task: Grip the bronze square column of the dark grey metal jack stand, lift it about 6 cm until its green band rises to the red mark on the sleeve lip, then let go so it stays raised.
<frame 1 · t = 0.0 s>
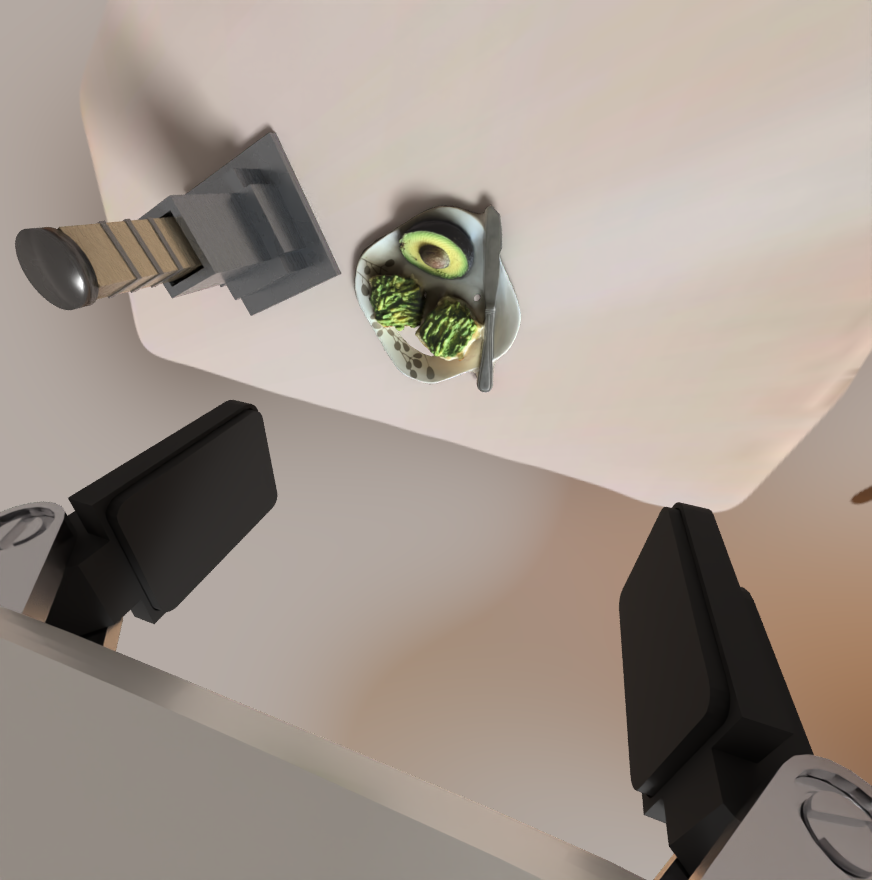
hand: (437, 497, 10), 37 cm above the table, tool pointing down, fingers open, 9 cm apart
salad plate: (440, 295, 45), on the table
jack stand: (264, 234, 47), on the table
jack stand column: (178, 249, 37), point 12 cm above the table, slide at 0.0 cm
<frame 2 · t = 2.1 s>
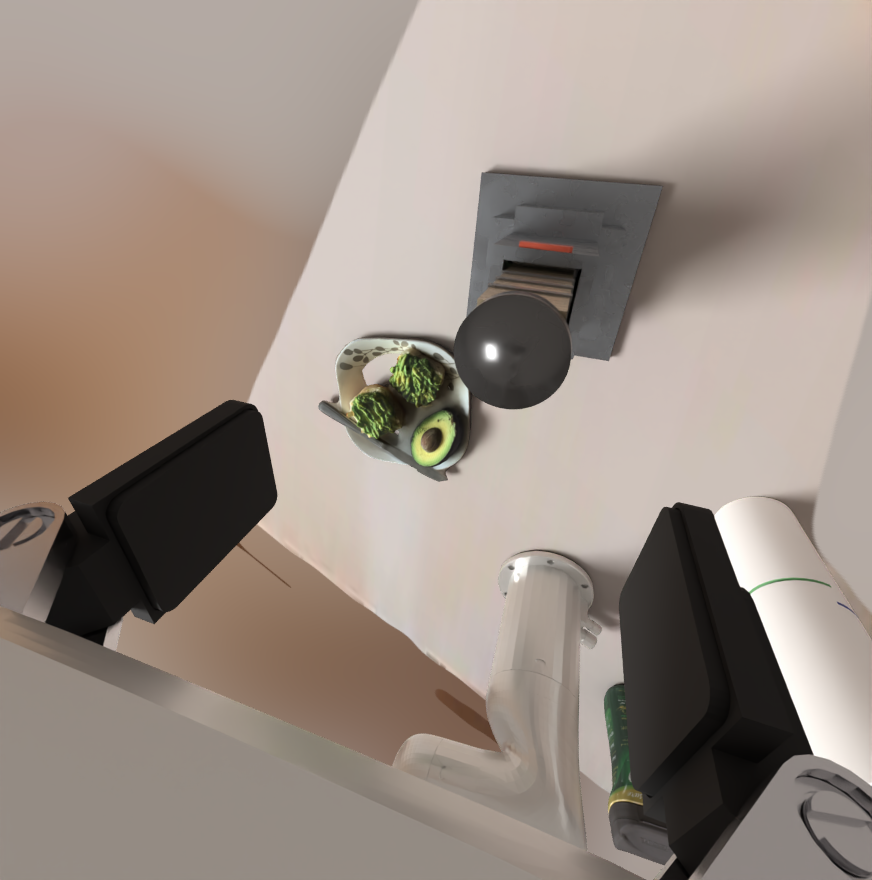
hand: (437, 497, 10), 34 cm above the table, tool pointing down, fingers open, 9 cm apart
coffee jar: (637, 698, 64), on the table
salad plate: (410, 404, 50), on the table
cylindrical container: (751, 522, 44), on the table
jack stand: (550, 270, 37), on the table
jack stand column: (535, 301, 27), point 12 cm above the table, slide at 0.0 cm
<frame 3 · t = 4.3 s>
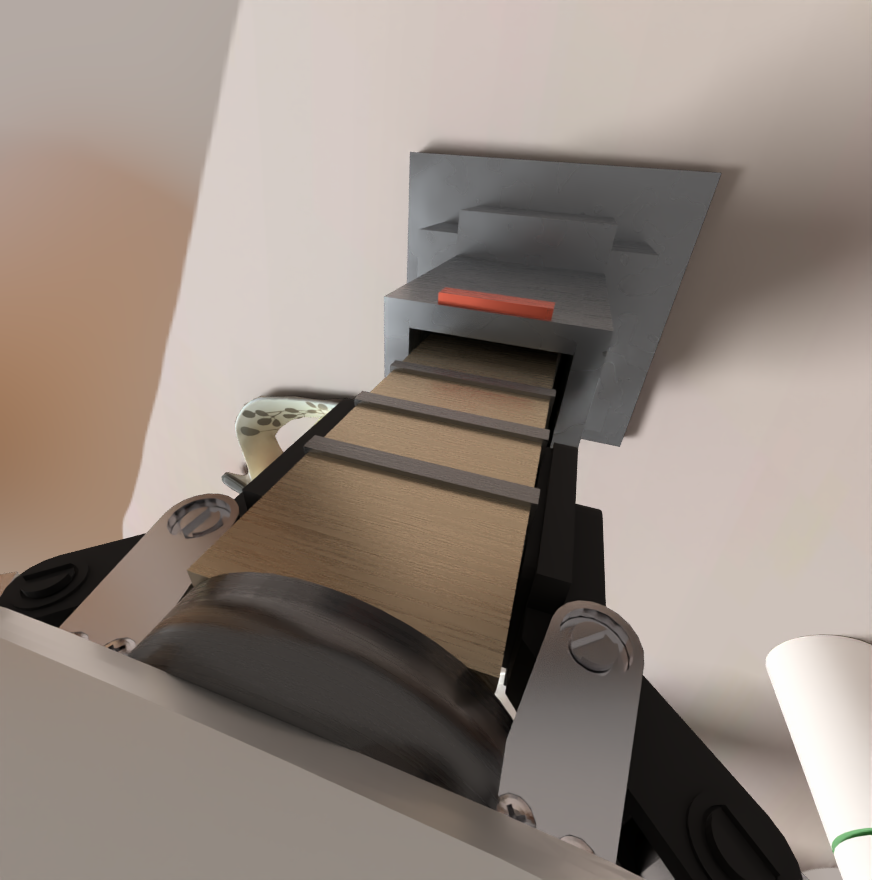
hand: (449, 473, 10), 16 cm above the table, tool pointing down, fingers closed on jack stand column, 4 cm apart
salad plate: (343, 480, 36), on the table
cylindrical container: (824, 664, 30), on the table
jack stand: (527, 309, 24), on the table
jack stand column: (483, 403, 14), point 12 cm above the table, slide at 0.0 cm, touching gripper
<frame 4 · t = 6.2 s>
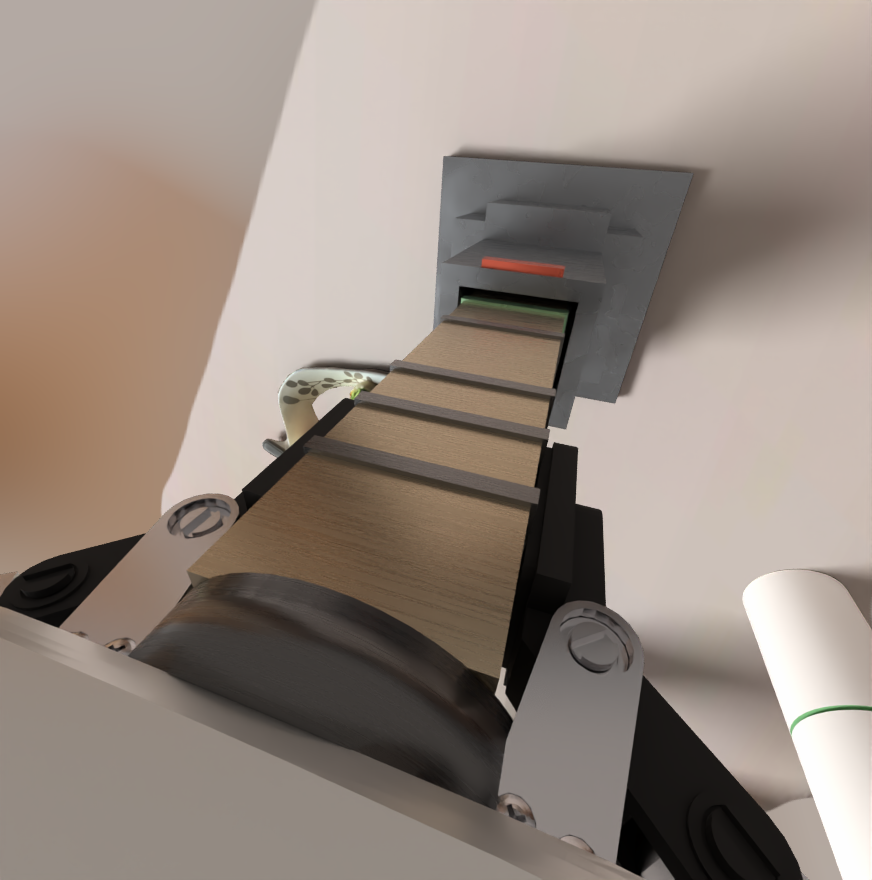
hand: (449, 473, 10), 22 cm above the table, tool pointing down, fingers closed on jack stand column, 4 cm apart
salad plate: (372, 444, 41), on the table
cylindrical container: (792, 597, 35), on the table
jack stand: (538, 287, 28), on the table
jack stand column: (483, 402, 14), point 18 cm above the table, slide at 5.8 cm, touching gripper
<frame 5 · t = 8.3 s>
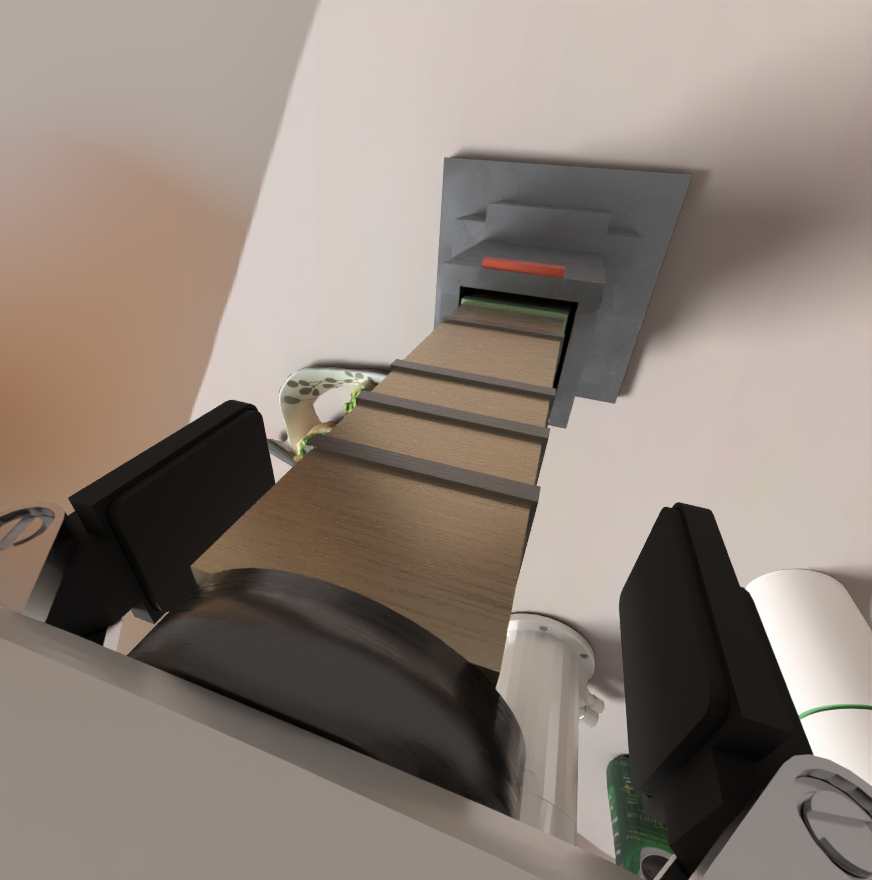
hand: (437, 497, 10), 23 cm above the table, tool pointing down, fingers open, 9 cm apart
coffee jar: (645, 770, 55), on the table
salad plate: (372, 444, 41), on the table
cylindrical container: (792, 597, 35), on the table
jack stand: (538, 287, 28), on the table
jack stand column: (483, 402, 14), point 18 cm above the table, slide at 5.9 cm
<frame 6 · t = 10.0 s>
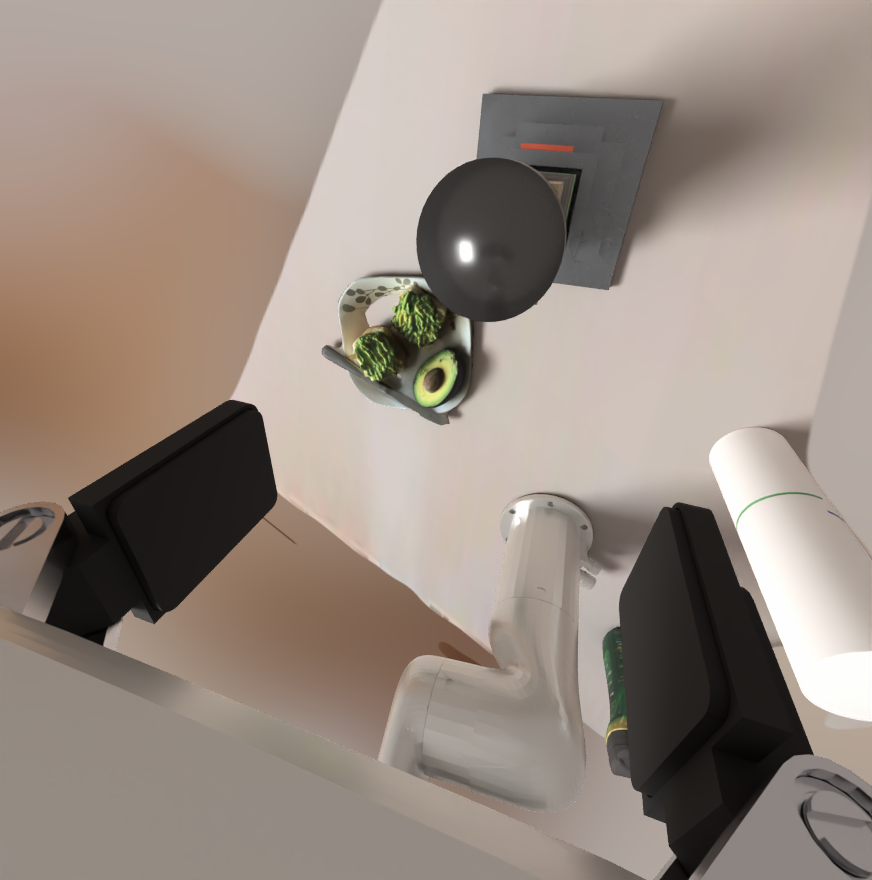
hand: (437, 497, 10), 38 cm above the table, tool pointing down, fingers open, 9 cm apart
coffee jar: (635, 642, 66), on the table
salad plate: (412, 347, 50), on the table
cylindrical container: (747, 454, 45), on the table
jack stand: (550, 197, 38), on the table
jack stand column: (525, 217, 23), point 18 cm above the table, slide at 5.9 cm
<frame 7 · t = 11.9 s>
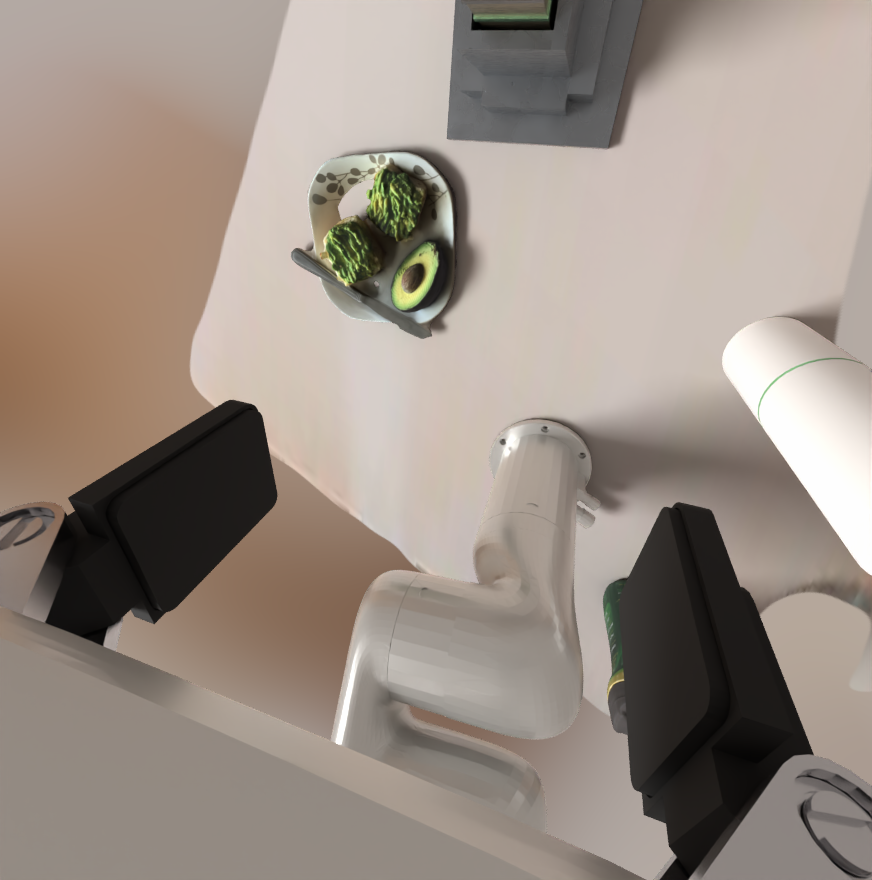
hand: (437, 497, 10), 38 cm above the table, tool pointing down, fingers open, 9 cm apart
coffee jar: (639, 596, 60), on the table
salad plate: (390, 248, 46), on the table
cylindrical container: (766, 353, 40), on the table
jack stand: (541, 36, 33), on the table
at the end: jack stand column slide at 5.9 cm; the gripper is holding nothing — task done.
